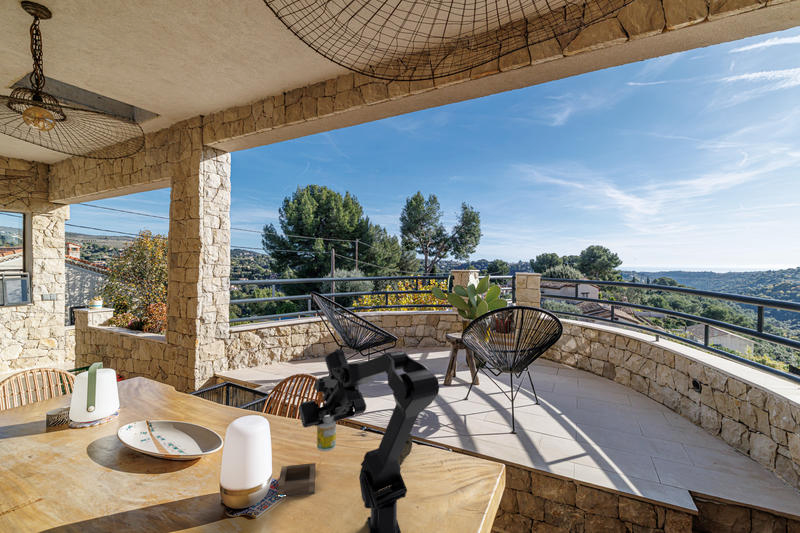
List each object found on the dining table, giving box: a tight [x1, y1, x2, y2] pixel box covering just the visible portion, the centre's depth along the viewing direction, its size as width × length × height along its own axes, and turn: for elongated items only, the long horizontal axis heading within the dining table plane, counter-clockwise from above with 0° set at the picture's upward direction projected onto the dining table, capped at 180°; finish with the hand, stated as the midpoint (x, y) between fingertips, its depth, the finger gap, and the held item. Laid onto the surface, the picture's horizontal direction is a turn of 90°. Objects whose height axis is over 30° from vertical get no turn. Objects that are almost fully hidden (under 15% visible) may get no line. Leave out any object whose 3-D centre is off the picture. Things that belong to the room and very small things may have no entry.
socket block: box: [276, 462, 316, 498], centre depth 91 cm, size 9×9×3 cm
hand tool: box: [398, 433, 413, 466], centre depth 105 cm, size 19×4×5 cm, turn 156°
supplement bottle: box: [316, 415, 337, 452], centre depth 100 cm, size 5×5×10 cm
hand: (324, 422), depth 101 cm, fingers closed on supplement bottle, 5 cm apart
